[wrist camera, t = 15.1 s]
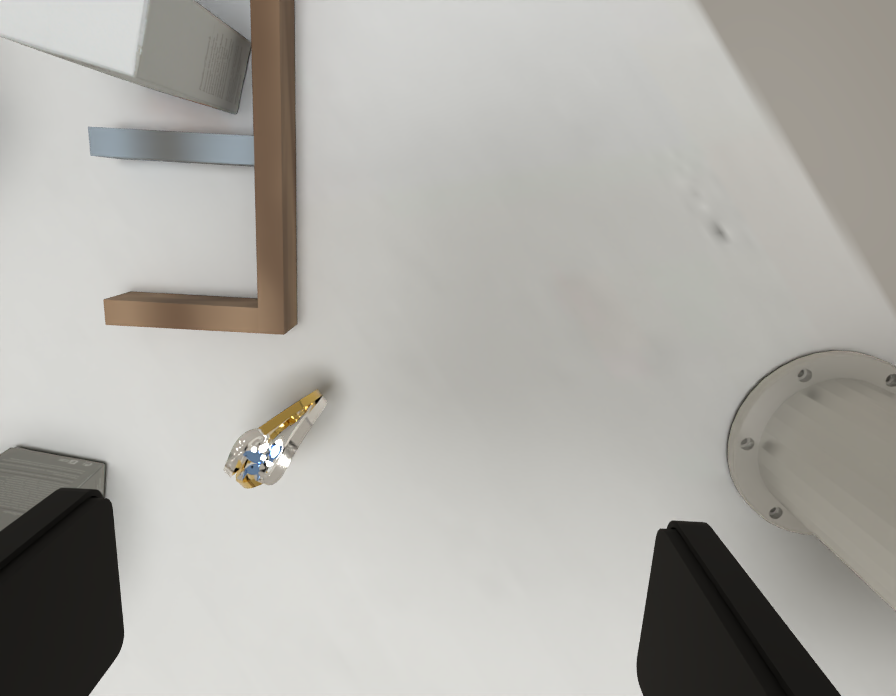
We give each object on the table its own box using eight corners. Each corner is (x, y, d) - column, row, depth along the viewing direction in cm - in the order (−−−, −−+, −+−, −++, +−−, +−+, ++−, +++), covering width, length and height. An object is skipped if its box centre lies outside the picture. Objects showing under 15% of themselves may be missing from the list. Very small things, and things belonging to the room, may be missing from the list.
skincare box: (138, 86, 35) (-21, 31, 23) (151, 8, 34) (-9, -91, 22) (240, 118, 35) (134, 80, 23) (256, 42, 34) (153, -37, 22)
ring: (319, 363, 39) (285, 405, 31) (350, 401, 39) (324, 451, 32) (238, 423, 40) (186, 477, 32) (269, 459, 40) (226, 521, 33)
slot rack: (292, -248, 31) (275, -294, 28) (297, 323, 38) (284, 334, 35) (87, -259, 31) (49, -307, 28) (132, 314, 38) (105, 324, 35)
